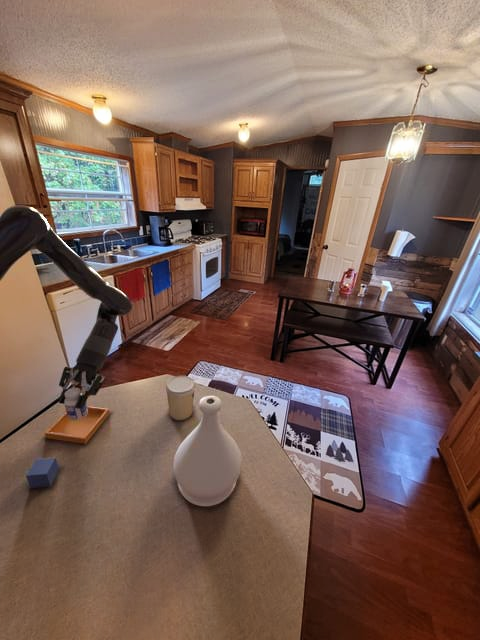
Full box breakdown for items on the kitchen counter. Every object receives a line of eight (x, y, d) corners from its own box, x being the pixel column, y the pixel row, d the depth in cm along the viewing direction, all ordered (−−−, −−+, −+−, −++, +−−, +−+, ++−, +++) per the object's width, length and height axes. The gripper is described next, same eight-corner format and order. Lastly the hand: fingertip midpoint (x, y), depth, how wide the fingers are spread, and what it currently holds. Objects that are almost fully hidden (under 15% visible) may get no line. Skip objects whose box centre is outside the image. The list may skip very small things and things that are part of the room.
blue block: (30, 488, 61) (25, 475, 59) (40, 471, 65) (36, 459, 63) (50, 486, 62) (46, 473, 60) (59, 469, 66) (55, 457, 64)
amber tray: (46, 438, 74) (44, 433, 73) (75, 408, 85) (74, 404, 84) (85, 443, 73) (84, 438, 72) (109, 413, 84) (109, 408, 84)
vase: (205, 437, 78) (207, 370, 69) (252, 470, 70) (262, 398, 60) (159, 480, 65) (154, 404, 55) (210, 527, 56) (214, 447, 46)
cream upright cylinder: (199, 415, 87) (199, 387, 82) (173, 426, 82) (171, 396, 77) (188, 399, 94) (188, 372, 89) (163, 408, 88) (161, 380, 84)
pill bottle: (85, 406, 81) (80, 383, 78) (90, 415, 78) (85, 392, 74) (66, 414, 78) (59, 391, 74) (70, 424, 74) (64, 400, 71)
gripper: (67, 343, 78) (39, 398, 72) (106, 352, 75) (80, 411, 69) (84, 350, 85) (60, 401, 79) (121, 358, 82) (98, 412, 76)
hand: (69, 405), depth 74 cm, fingers closed on pill bottle, 5 cm apart
